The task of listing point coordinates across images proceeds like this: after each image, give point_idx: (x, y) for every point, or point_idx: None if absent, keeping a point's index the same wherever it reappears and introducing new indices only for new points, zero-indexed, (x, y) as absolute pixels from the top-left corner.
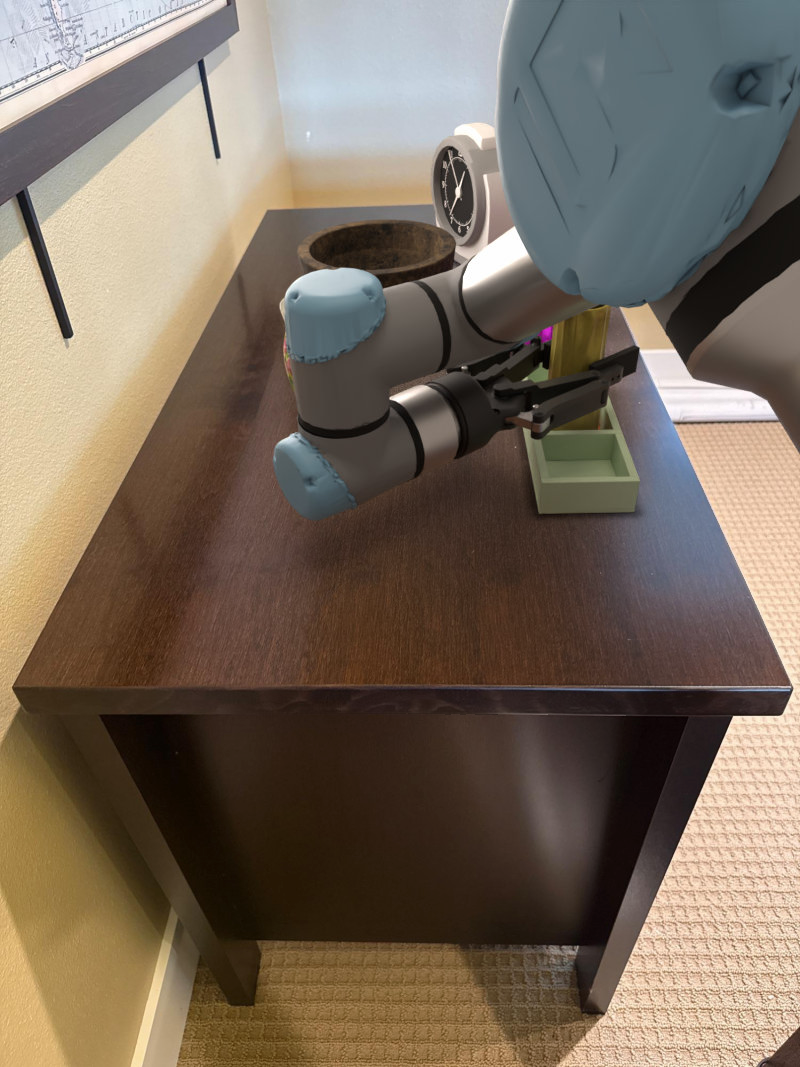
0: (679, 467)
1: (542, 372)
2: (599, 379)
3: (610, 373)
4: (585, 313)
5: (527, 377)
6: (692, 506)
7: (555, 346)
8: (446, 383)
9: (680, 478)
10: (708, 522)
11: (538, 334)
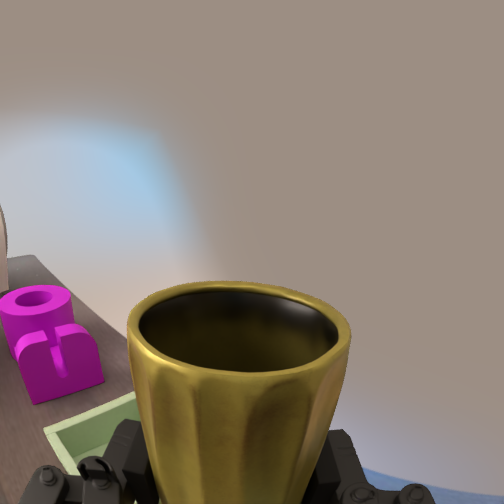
0: (378, 475)
1: (88, 436)
2: (402, 500)
3: (357, 463)
4: (333, 368)
5: (72, 450)
6: (450, 497)
7: (202, 501)
8: None
9: (398, 485)
10: (476, 493)
11: (51, 371)
